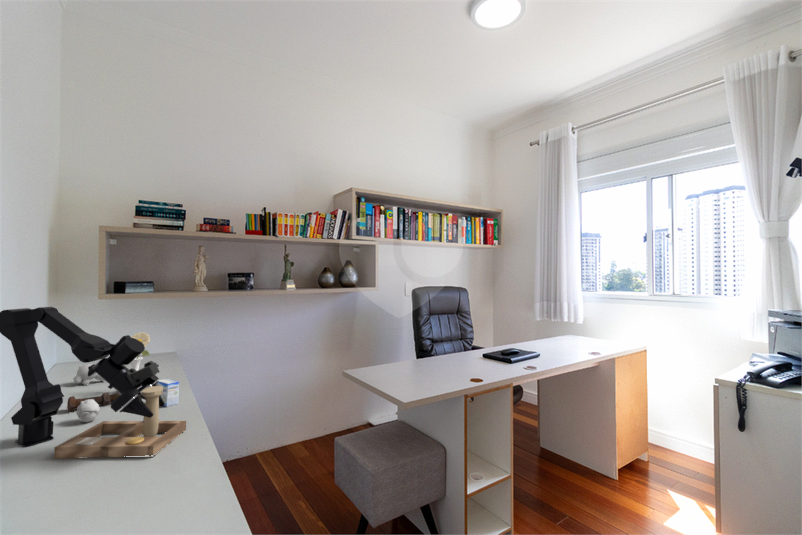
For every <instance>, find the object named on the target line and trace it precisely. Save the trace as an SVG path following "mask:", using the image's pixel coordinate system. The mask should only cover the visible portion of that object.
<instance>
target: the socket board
mask: <svg viewBox="0 0 802 535" xmlns="http://www.w3.org/2000/svg"><path fill="white" fill-rule="evenodd" d="M185 430H186V431H187V420H159V423H158V431H157V434H162V435H161V436H157V437H144V436H142V435H143V420H115V421H114V420H110V421H109V420H107V421H106V420H103V421H101V422H99V423H97V424H95V425H93V426H92V427H89V428H87V429H86V430H84V431H83V432H81V433H78V434H76V435H73V437H71V438H69V439H67V440H65V441H63V442H61V443H59V444H58V445H56V446H54V450H53V452H54V453H53V459H55V458H56V459H57V460H58V458H59V459H80V458H79V457H124V456H125V457H126V456H145V455H149V456H151V455H154V454H156V453H157V452H158V451H160V450H161V449H162V448H164V447H165V446H166V445H167V444H169V443H170V442H171V441H172V440H173V439H175V438H176V437H177V436H178V435H180V434H181V433H182V432H183V431H185ZM186 431H185V432H186ZM161 432H162V433H161ZM163 432H166V433H163ZM183 433H184V432H183ZM183 433H182V434H183ZM103 434H118V435H117V436H108V437H107V436H105V437H104V436H103V437H102V436H101V435H103ZM141 434H142V435H141ZM182 434H181V435H182ZM140 435H141V436H140ZM181 435H180V436H181ZM100 436H101V437H100ZM138 436H139V437H138ZM177 438H178V437H177ZM177 438H176V439H177ZM176 439H175V440H176ZM172 442H173V441H172ZM172 442H171V443H172ZM171 443H170V444H171ZM170 444H169V445H170ZM166 447H167V446H166ZM166 447H165V448H166ZM165 448H164V449H165ZM160 452H161V451H160Z"/></svg>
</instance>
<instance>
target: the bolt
mask: <svg viewBox="0 0 802 535" xmlns="http://www.w3.org/2000/svg"><path fill="white" fill-rule="evenodd" d="M119 395H121V394H120V393H119V392H118V393H112V394H110V393H109V392H104V393H102V395H99V396H92V397H91V396H89V397H84V398H76V397H75V396H73V395H72V396H69V397H68V398H67V405H66V409H67V410H66V411H67V413H69V412H71V413H75V410H77V407H78V406H79V405H80V404H81V402H82V401H85V400H88V399H94V401H95V402H96V403H98V405H99V406H102V407H107V406H110V404H111V403H112V402H113V401H114V400H115V399H116V398H117V397H118V396H119Z"/></svg>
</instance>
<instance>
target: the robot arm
mask: <svg viewBox="0 0 802 535" xmlns="http://www.w3.org/2000/svg"><path fill="white" fill-rule="evenodd" d="M39 323H40V324H41V325H43V326H44V327H45V328H46V329H47V330H49V331H50V332H52V333H53V334H55V336H57V337H59V338H60V339H61V340H62V341H64V342H65V343H66V344H68V345H69V347H70V350H71V353H72V354H73V355H74V356H75V357H76V358H77V360H78V361H80V362H82V363H83V364H89V363H92V362H95V361H98V362H97V363H96V364H94V363H93V365H91V366H89V367H88V369H89V370H88V376H89V377H90V376H91V375H93V374H95V373H97V374H98V375H100V376H101V377H102V378H103V379H104V380H105V383H107V384H109V385H108V386H107V387H108V389H109V390H112V389H114V390H115V391H116V392H118V393H120V394H121V395H119V396H118V397H117V398H116V399H115V400H114V401H113V402H112V403H110V409H111V410H113V411H114V412H115V413H117V412H118V411H119V413H127V414H133V415H137V416H142V417H144V416H145V417H149V418H151V417H152V416H153V415H154V414H153V413H152V412H151V410H150V409H149V408H148V407H147V406H146V405H145V402H144V401H143V400H145V401H146V398H145V397H143V396H142V390H144V389H145V388H148V387H152V386H158V383H159V381H158V380H160V378H159V377H158V376H157V374H158V373H160V370H159V366H160V365H159V364H158V363H157V362H154V361H152V360H150V361H147V362H146V363H144V366H143V367H141V368H140V369H139V370H137V371H136V370H135V369H134V368H133V369H132V367H131V368H130V369H129V368H128V367H127V366H128V365H129V364H131V362H132V361H133V360H134V359H135V358H136V357H138V356H139V355H140V356H141V355H142V352H143V351H145V350H146V347H145V346H144V344H143V343H142V342H141V341H139V340H137V339H135V338H131V337H132V336H130V334H126V335H123V336H122V337H121V338H120V339H119V340H118V341H117V342H116V343H111V342H110V341H109V340H106V339H105V338H103V337H101V336H98V335H95V334H91V333H88V332H86V331H85V330H84V329H82V328H81V327H80V326H78V325H77V324H75V323H74V321H73V322H72V320H70V319H69V318H67V317H66V316H64V315H63V314H62V313H61V312H60V311H59V310H58V309H57V308H56V307H54V306H43V307H41V306H40V307H35V308H33V309H32V308H29V307H28V308H27V307H25V308H14V309H13V308H12V309H2V311H0V334H1V335H2V336H3V337H5V338H6V339H7V340H9V341H10V343H11V346H12V349H13V352H14V356H15V360H16V362H17V366H18V370H19V372H20V375H21V378H22V382H23V385H24V390H23V394H22V396H21V397H20V398H21V399H20V401H21V402H20V403H21V408H20V409H19V410H18V411H16V412H15V413H14V414H13V415H12V416H11V417H10V419H11V422H12V425H13V426H16V425H17V426H18V431H17V432H18V434H17V439H16V440H14V443H15V444H17V445H19V446H21V447H23V448H26V447H30V446H35V445H37V444H39V443H44V442H47V441H50V440H53V439H54V436H53V434H54V420H52V419H53V418H52V417H53V416H56V415H57V414H58V412H59V409H60V408H61V407H62V404H63V402H64V399H63V398H64V397H65V395H64V393H63V392H62V386H61V385H60V384H59V383H57V384H55V385H54V384H53V383H52V382H50V381H49V379H48V376H47V372H46V370H45V369H46V368H45V366H44V363H43V359H42V355H41V353H40V350H39V346H38V343H37V340H36V336H35V334H36V332H37V330H38V327H39ZM140 356H139V357H140ZM156 381H157V382H156ZM164 405H165V403H164V401H163V399H162V397H161V395H159V407H165V406H164Z"/></svg>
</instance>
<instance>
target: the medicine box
mask: <svg viewBox="0 0 802 535" xmlns="http://www.w3.org/2000/svg"><path fill="white" fill-rule="evenodd" d="M157 381H159V383H158V386H163V392H162V394H161V397H162V399H163V401H164V403H165V405H164V406H163V407H165V406H166V407H165V408H168V407H167V406H169V407H172V406H171V405H173V406H176V405H179V395H180V394H179V392H180V391H179V390H180V381H177V380H173V379H170V378H164V379H163V378H162V379H158V380H157ZM157 381H156V382H157ZM156 382H155V383H156ZM175 404H176V405H175Z"/></svg>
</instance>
